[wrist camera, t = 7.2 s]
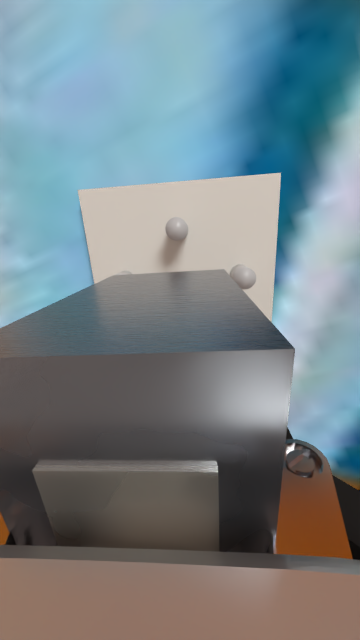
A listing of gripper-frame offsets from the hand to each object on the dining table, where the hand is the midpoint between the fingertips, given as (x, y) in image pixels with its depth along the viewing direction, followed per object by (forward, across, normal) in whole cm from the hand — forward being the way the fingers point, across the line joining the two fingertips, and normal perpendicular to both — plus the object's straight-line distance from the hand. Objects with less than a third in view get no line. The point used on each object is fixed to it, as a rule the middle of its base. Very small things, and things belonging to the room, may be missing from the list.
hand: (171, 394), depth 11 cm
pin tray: (+11, 0, 0) cm, 11 cm away
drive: (+2, 0, 0) cm, 2 cm away
